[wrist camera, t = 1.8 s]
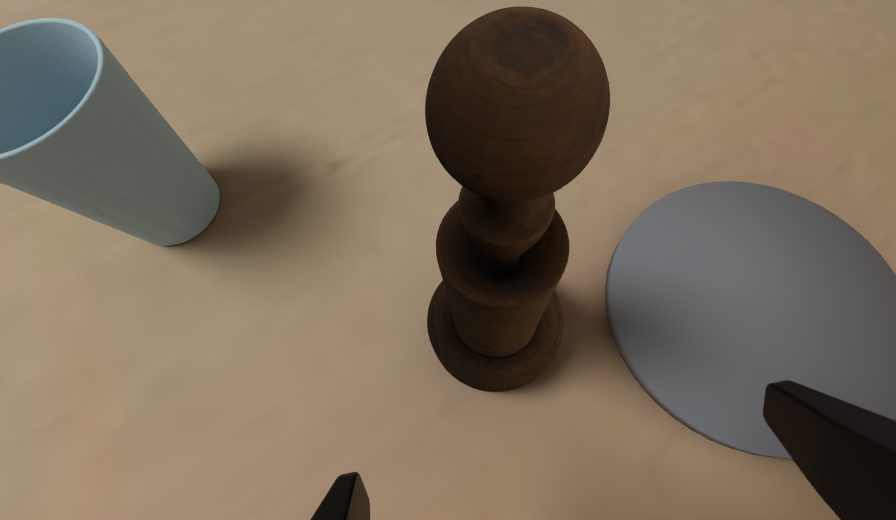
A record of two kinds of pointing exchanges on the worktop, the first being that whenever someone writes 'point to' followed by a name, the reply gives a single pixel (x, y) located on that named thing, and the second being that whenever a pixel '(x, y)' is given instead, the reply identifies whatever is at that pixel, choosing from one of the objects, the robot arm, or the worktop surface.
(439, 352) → the wooden pepper mill
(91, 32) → the cup
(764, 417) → the robot arm
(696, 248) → the mat
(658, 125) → the worktop surface
